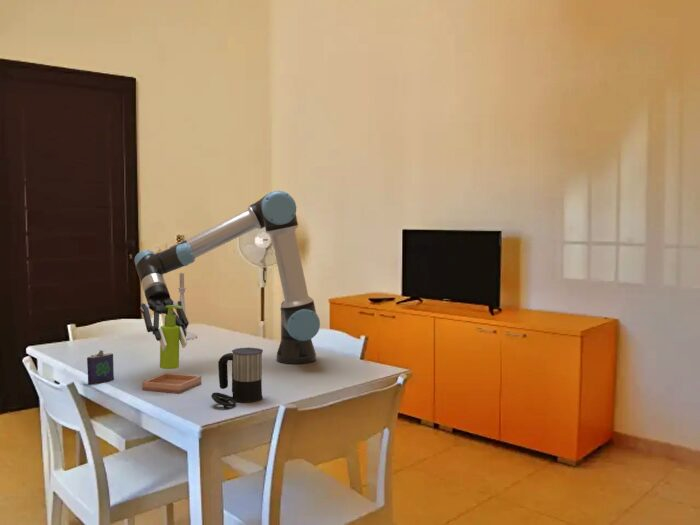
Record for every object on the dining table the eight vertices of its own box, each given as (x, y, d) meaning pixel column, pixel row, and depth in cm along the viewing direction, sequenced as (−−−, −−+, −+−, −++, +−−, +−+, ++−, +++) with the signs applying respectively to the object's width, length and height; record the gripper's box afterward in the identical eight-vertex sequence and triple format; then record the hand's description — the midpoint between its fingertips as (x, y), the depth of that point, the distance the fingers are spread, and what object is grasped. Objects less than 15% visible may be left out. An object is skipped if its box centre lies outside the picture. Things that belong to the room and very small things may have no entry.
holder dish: (201, 383, 212) (201, 376, 212) (179, 393, 200) (179, 385, 200) (165, 380, 217) (165, 373, 216) (142, 389, 205) (142, 382, 204)
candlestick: (167, 336, 299) (166, 271, 297) (196, 334, 303) (195, 270, 301) (168, 341, 287) (167, 273, 285) (198, 339, 290) (197, 273, 288)
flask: (111, 378, 219) (110, 347, 219) (116, 379, 218) (115, 348, 217) (86, 384, 212) (85, 351, 211) (91, 385, 210) (90, 352, 209)
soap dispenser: (176, 369, 205) (177, 307, 203) (156, 368, 206) (157, 305, 205) (185, 366, 210) (186, 304, 209) (165, 364, 212) (166, 303, 211)
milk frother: (264, 394, 200) (264, 347, 199) (259, 409, 184) (258, 358, 183) (218, 394, 199) (217, 347, 198) (208, 409, 184) (208, 358, 183)
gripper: (179, 295, 225) (199, 350, 213) (124, 299, 213) (142, 356, 201) (185, 281, 220) (206, 336, 208) (129, 284, 209) (148, 342, 197)
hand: (174, 346), depth 205 cm, fingers closed on soap dispenser, 6 cm apart
